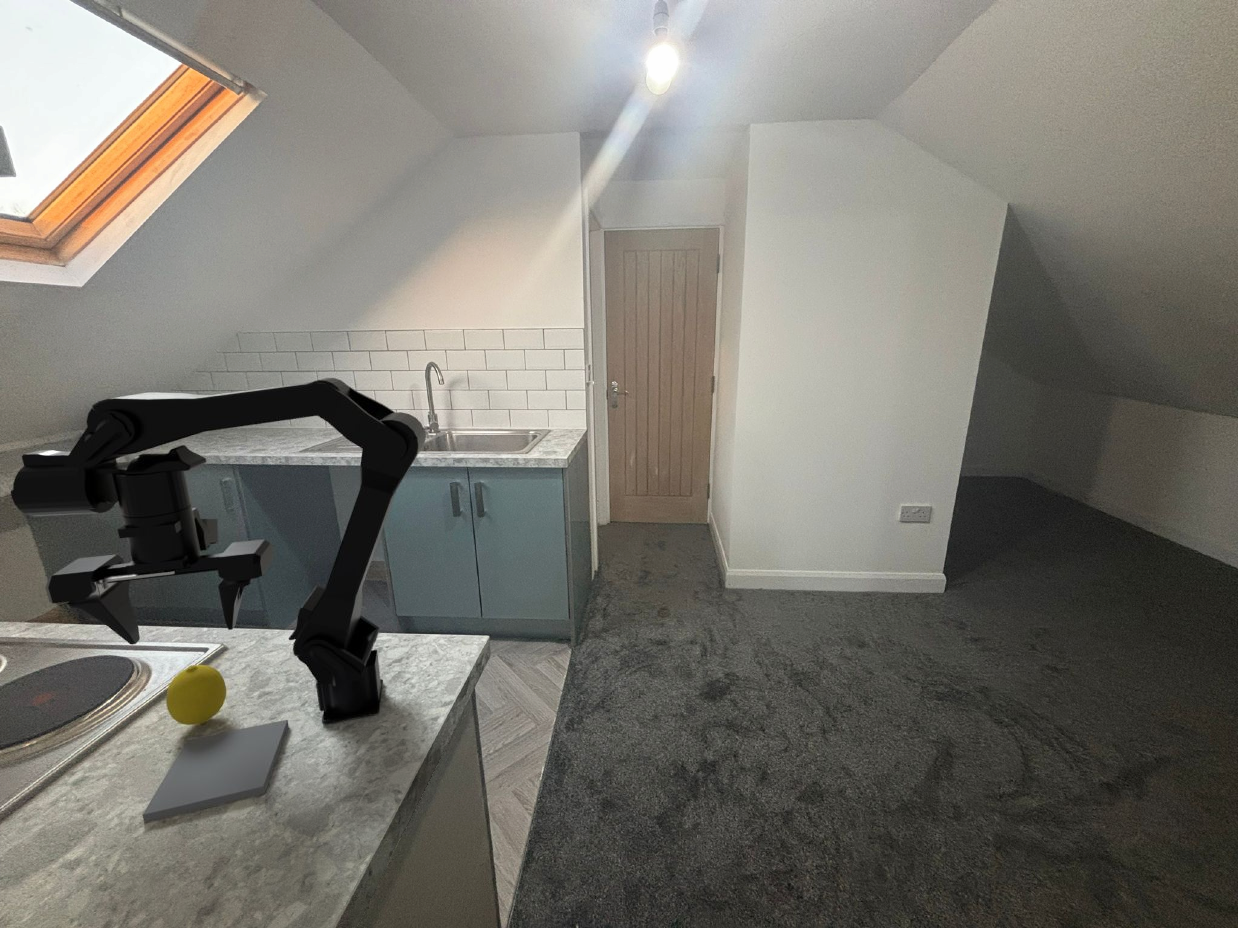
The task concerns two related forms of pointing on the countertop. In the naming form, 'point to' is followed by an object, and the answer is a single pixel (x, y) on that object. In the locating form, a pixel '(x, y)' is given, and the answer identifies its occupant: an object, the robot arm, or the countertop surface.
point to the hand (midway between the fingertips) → (185, 634)
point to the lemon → (196, 694)
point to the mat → (218, 770)
